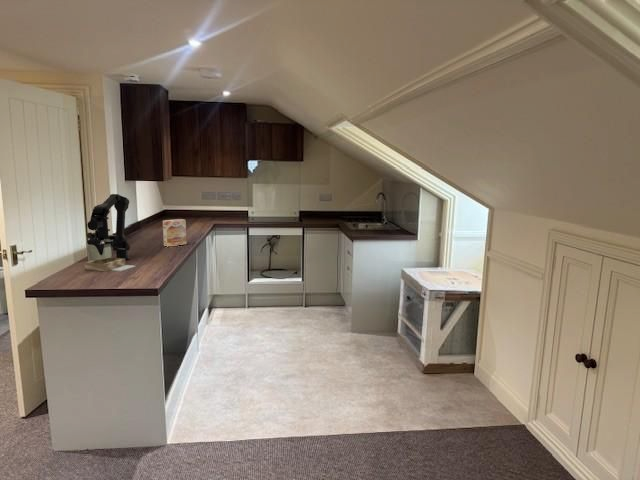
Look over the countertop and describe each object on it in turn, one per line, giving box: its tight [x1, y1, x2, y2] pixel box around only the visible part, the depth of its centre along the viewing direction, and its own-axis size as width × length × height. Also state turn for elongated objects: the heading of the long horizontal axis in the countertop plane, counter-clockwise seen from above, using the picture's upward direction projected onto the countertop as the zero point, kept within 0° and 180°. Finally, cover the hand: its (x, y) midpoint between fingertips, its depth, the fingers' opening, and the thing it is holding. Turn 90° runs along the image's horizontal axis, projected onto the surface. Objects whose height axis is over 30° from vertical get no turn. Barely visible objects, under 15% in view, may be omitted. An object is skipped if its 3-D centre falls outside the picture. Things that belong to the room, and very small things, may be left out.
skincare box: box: [85, 243, 99, 262], centre depth 265 cm, size 6×4×12 cm
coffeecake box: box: [162, 218, 188, 248], centre depth 317 cm, size 15×7×20 cm, turn 131°
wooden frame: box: [84, 257, 127, 272], centre depth 252 cm, size 16×15×4 cm
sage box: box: [98, 242, 113, 259], centre depth 250 cm, size 5×5×8 cm
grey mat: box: [111, 264, 136, 272], centre depth 249 cm, size 12×6×1 cm, turn 165°
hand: (104, 254), depth 251 cm, fingers closed on sage box, 5 cm apart
